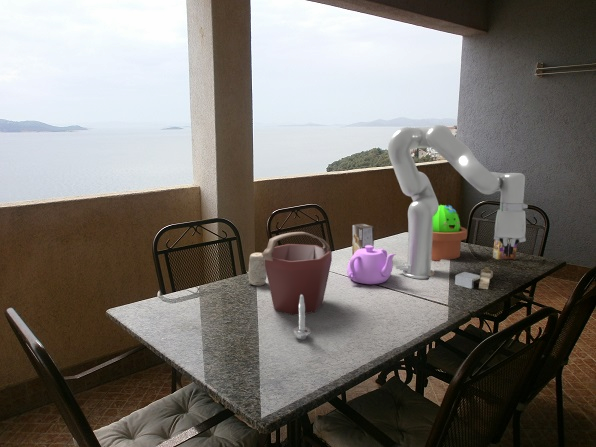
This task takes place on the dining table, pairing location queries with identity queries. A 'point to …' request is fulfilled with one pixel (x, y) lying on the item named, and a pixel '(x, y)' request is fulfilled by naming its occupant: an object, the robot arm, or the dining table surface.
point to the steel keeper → (466, 279)
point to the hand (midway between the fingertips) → (508, 256)
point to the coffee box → (362, 236)
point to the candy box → (499, 250)
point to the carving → (257, 269)
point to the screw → (301, 321)
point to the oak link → (485, 278)
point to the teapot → (370, 265)
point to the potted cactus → (447, 234)
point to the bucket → (297, 273)
